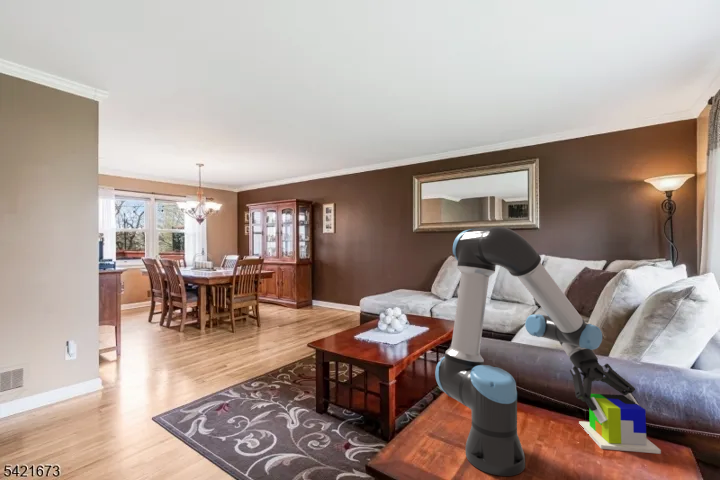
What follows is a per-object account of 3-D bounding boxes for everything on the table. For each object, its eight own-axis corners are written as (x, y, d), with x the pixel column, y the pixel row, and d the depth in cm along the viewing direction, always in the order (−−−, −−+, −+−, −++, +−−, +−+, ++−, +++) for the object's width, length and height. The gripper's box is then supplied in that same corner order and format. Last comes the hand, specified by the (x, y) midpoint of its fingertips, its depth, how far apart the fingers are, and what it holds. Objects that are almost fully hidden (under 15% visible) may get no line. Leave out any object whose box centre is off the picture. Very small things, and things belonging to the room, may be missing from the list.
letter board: (601, 448, 98) (601, 444, 98) (579, 424, 112) (579, 420, 112) (660, 453, 96) (660, 449, 96) (630, 428, 109) (630, 424, 109)
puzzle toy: (646, 445, 98) (645, 409, 98) (608, 443, 99) (608, 407, 99) (623, 427, 108) (622, 394, 108) (589, 425, 109) (588, 393, 109)
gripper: (603, 356, 122) (648, 419, 107) (542, 361, 117) (580, 428, 102) (617, 345, 117) (666, 409, 102) (554, 349, 112) (595, 418, 97)
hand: (623, 419), depth 102 cm, fingers open, 13 cm apart
